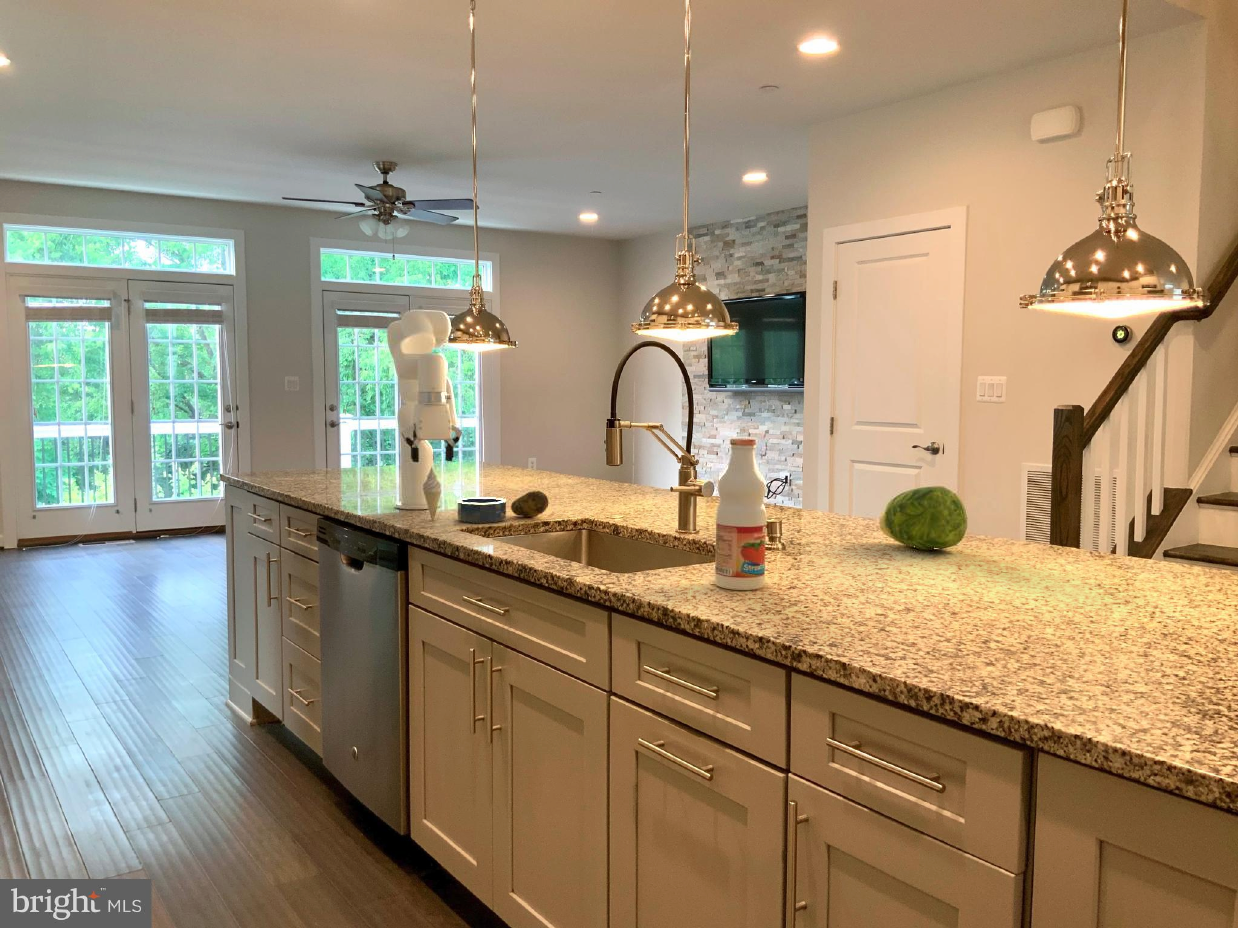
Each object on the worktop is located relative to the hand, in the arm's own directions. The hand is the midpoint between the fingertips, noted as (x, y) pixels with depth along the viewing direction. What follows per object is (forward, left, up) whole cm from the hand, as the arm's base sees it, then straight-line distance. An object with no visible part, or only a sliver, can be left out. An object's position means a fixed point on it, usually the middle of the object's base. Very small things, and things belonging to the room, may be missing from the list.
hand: (432, 461), depth 254 cm
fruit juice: (+107, +20, -17) cm, 110 cm away
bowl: (+6, +12, -16) cm, 21 cm away
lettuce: (+96, +85, -17) cm, 129 cm away
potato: (+8, +26, -17) cm, 32 cm away
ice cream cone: (0, 0, -17) cm, 17 cm away
